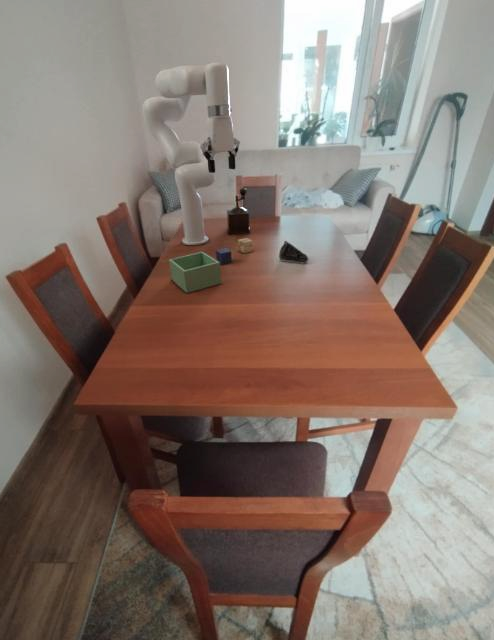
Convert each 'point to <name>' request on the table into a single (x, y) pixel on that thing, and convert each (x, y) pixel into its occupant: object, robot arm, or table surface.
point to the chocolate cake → (292, 254)
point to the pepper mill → (238, 217)
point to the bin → (195, 271)
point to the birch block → (245, 245)
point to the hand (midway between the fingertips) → (222, 170)
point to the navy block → (223, 256)
